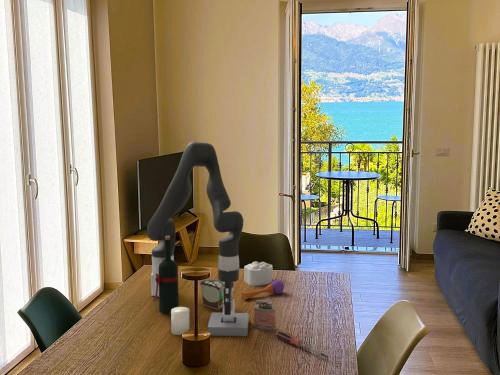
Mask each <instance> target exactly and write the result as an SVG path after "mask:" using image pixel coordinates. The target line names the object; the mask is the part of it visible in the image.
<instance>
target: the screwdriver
mask: <svg viewBox="0 0 500 375" xmlns="http://www.w3.org/2000/svg"><path fill="white" fill-rule="evenodd" d="M275 335H276V337H277V338H279V339H280V340H281V341H283V342H286V343H289V344H291V345H295V346H296V348H301V347H303V348H305V349H307V350H310V351H312V352H314V353H316V354H318V355H319V356H322V357H325V358H327V359H329V358H330V356H328V355H326V354H325V353H323V352H321V351H318V350H317V349H315V348H312V347H310V346H308V345H307V344H304V342H303V340H302V339H298V338H296V337H295V336H294V335H292V334H290V333H289V332H286V331H283V330H280V329H279V330H276V332H275Z"/></svg>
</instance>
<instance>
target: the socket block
mask: <svg viewBox="0 0 500 375" xmlns="http://www.w3.org/2000/svg"><path fill="white" fill-rule="evenodd" d="M249 318H250V314H249V312H235V323H223V312H211V313H210V317H209V320H208V323H207V324H208V325H207V327H206V328H207V329H206V331H208V332H210V333H211V335H210V336H220V337H221V336H225V337H226V336H232V337H234V336H235V337H236V336H237V337H247V336H248V332H249V322H250V319H249Z"/></svg>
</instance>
